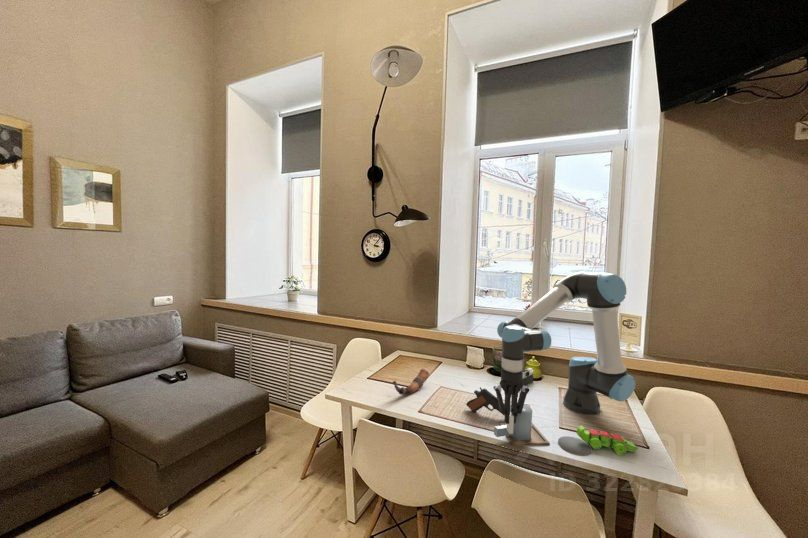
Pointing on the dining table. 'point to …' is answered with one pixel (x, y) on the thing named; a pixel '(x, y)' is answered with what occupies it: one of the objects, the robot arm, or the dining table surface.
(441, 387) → the dining table surface
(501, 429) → the grey l-shaped block
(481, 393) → the handgun
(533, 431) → the brown square tray
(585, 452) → the disc
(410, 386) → the drinking horn
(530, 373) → the camera
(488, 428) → the dining table surface
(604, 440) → the toy crocodile
